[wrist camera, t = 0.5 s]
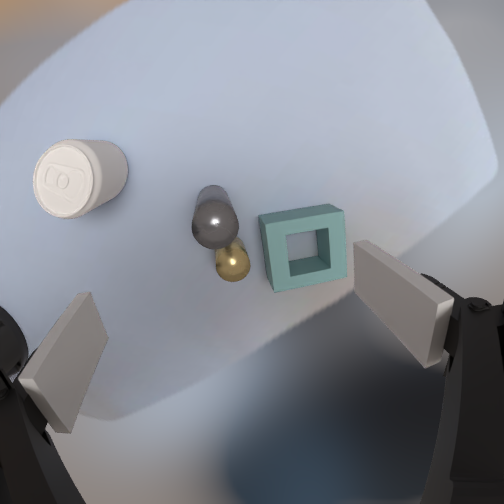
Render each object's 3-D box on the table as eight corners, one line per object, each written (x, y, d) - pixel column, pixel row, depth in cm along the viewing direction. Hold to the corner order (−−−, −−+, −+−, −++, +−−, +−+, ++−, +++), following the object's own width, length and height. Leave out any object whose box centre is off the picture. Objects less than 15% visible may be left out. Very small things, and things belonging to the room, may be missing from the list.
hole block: (267, 277, 43) (274, 292, 39) (258, 215, 40) (265, 224, 36) (333, 263, 44) (347, 277, 40) (329, 203, 41) (343, 211, 37)
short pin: (217, 266, 42) (219, 284, 36) (212, 238, 41) (213, 253, 35) (246, 260, 42) (252, 278, 37) (242, 233, 41) (247, 246, 35)
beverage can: (117, 209, 38) (83, 234, 26) (67, 189, 36) (21, 206, 24) (138, 152, 36) (109, 153, 24) (86, 133, 34) (42, 129, 22)
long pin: (200, 218, 40) (196, 253, 26) (195, 188, 38) (187, 208, 25) (230, 212, 40) (242, 244, 27) (225, 182, 38) (234, 199, 25)
